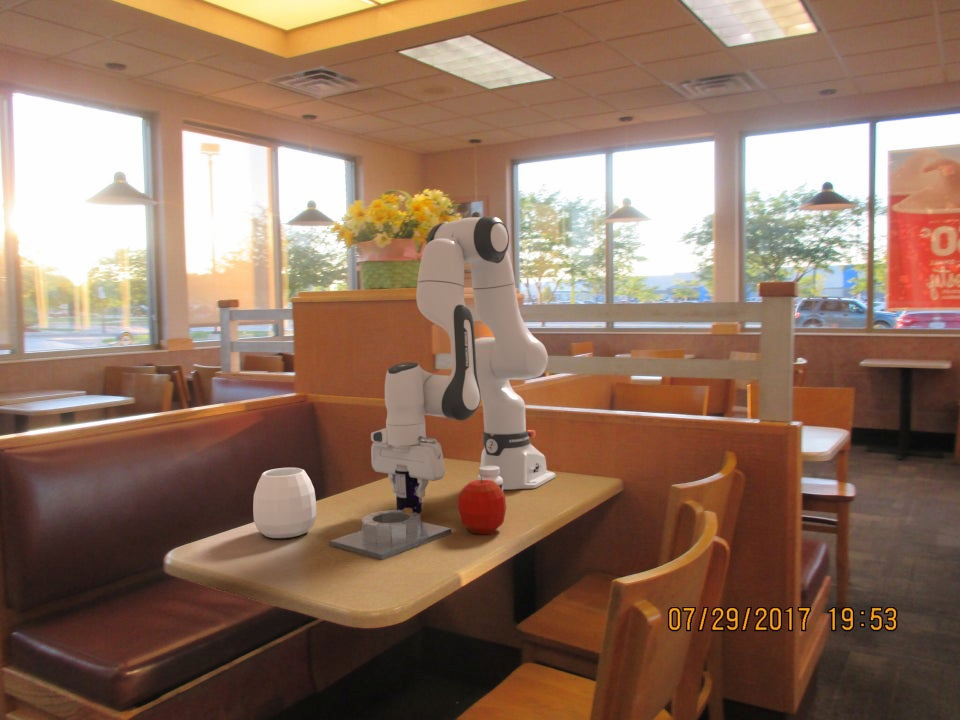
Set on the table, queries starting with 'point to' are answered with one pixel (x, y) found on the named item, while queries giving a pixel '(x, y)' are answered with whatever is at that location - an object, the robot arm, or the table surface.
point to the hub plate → (388, 548)
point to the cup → (284, 503)
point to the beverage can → (406, 490)
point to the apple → (482, 506)
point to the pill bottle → (490, 474)
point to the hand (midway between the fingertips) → (408, 494)
